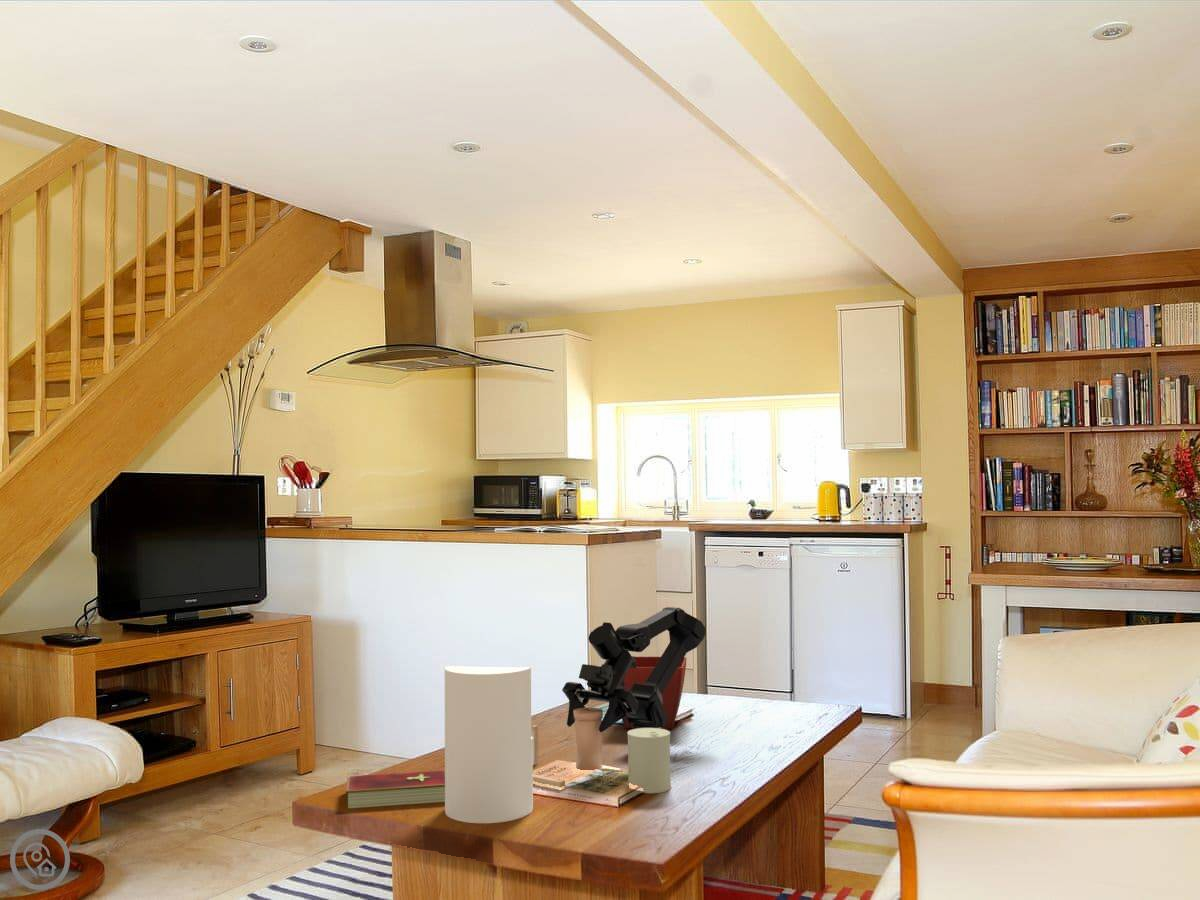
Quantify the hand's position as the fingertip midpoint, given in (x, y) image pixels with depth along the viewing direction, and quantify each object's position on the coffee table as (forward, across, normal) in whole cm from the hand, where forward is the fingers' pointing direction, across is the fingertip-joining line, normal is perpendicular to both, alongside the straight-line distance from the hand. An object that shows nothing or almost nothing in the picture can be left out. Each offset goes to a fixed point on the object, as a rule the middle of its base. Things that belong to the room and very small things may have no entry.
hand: (584, 728), depth 234 cm
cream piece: (+10, -3, +3) cm, 11 cm away
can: (+8, +19, +6) cm, 21 cm away
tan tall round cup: (+6, 0, +8) cm, 9 cm away
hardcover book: (+34, -18, -20) cm, 43 cm away
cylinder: (+30, +3, -16) cm, 34 cm away
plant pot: (-27, -16, +41) cm, 52 cm away
